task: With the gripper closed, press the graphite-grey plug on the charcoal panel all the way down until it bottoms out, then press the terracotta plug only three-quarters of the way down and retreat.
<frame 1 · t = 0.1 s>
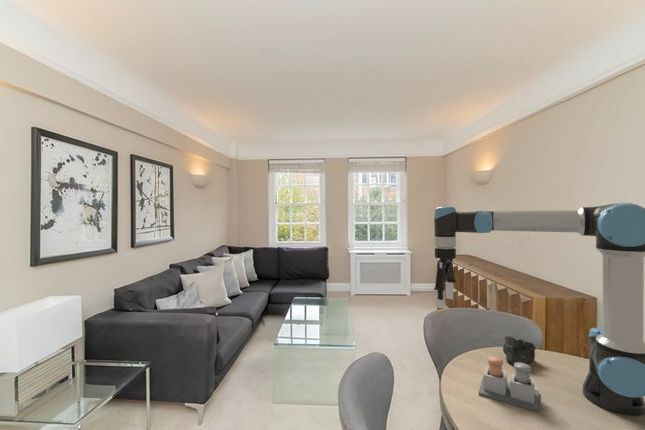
hand: (445, 303, 119), 28 cm above the table, fingers open, 13 cm apart
plug grey: (522, 375, 105), point 8 cm above the table, slide at 0.0 cm
panel: (508, 393, 107), on the table
plug terracotta: (495, 368, 109), point 8 cm above the table, slide at 0.0 cm
camera: (517, 361, 130), on the table
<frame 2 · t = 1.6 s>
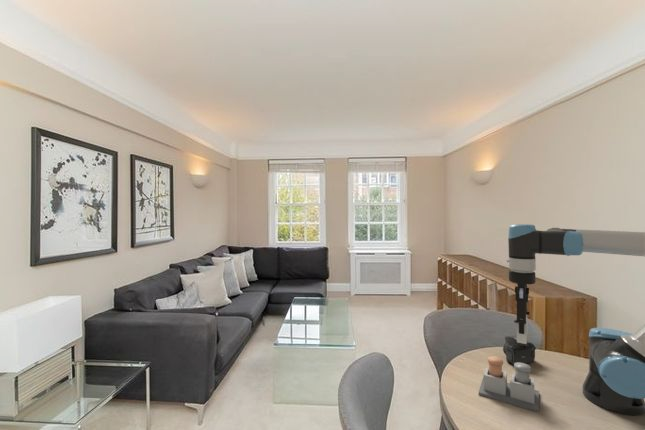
hand: (522, 337, 104), 20 cm above the table, fingers open, 8 cm apart
nothing on the table moved.
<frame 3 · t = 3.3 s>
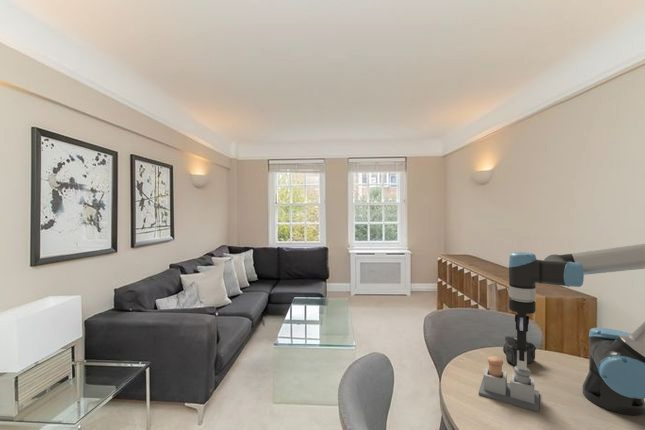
hand: (521, 368, 105), 10 cm above the table, fingers closed
plug grey: (522, 378, 105), point 6 cm above the table, slide at 1.3 cm, touching gripper
everything else where it was.
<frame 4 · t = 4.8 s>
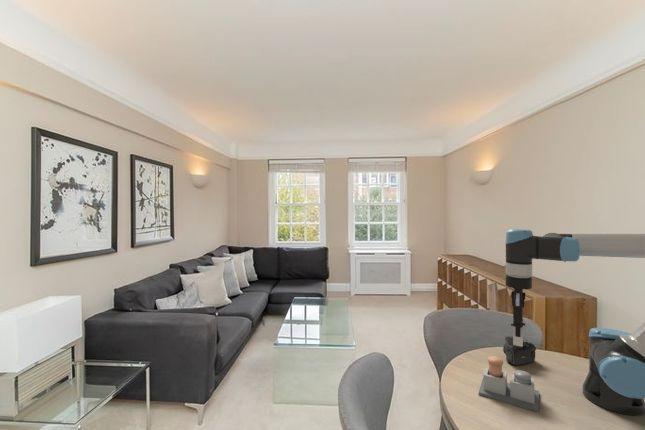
hand: (517, 344, 105), 18 cm above the table, fingers closed
plug grey: (522, 383, 105), point 5 cm above the table, slide at 2.7 cm
everything else where it was.
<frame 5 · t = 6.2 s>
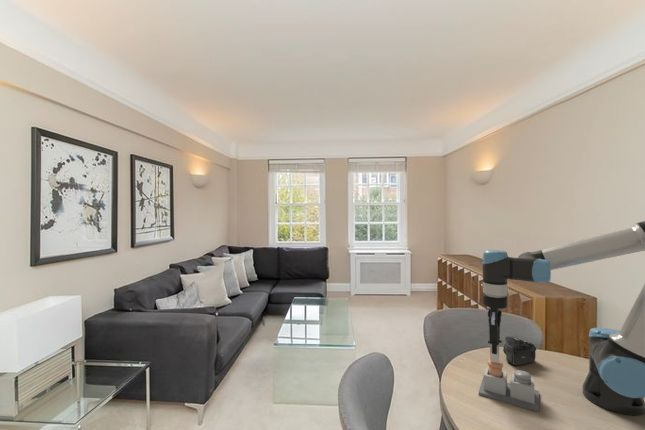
hand: (494, 361, 109), 10 cm above the table, fingers closed
plug terracotta: (495, 371, 109), point 7 cm above the table, slide at 0.9 cm, touching gripper
everything else where it was.
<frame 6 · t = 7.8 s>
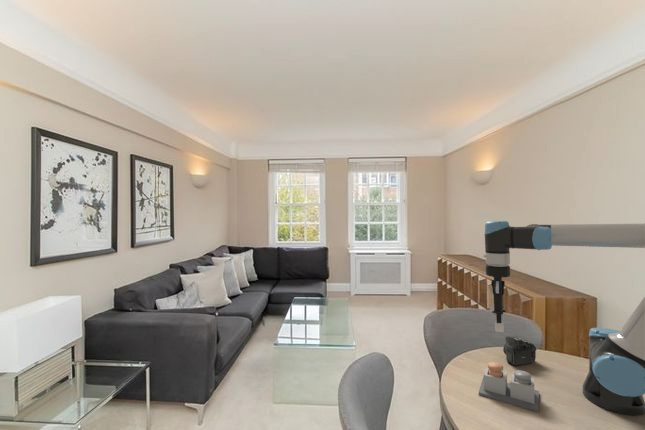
hand: (499, 331, 110), 20 cm above the table, fingers closed
plug terracotta: (495, 374, 109), point 6 cm above the table, slide at 2.0 cm
everything else where it was.
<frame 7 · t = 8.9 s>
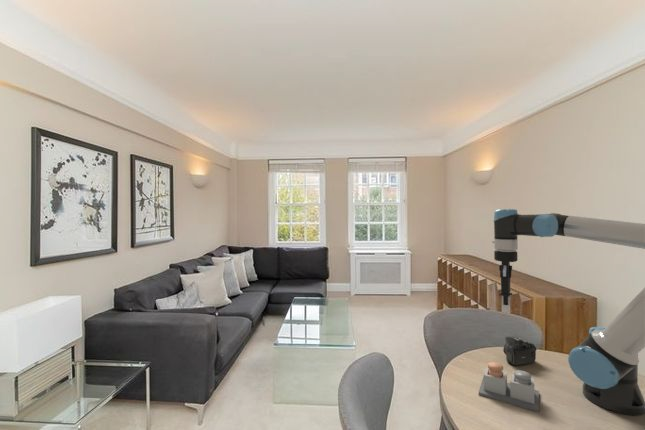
hand: (506, 312, 117), 24 cm above the table, fingers closed
nothing on the table moved.
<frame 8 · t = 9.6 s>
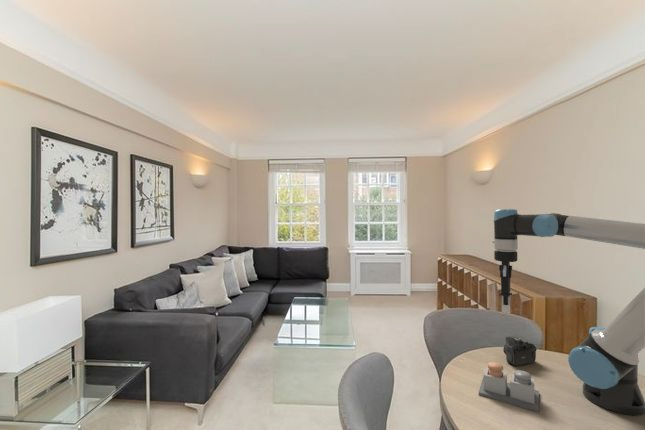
hand: (506, 312, 117), 24 cm above the table, fingers closed
nothing on the table moved.
at the end: plug grey slide at 2.7 cm; plug terracotta slide at 2.0 cm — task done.
